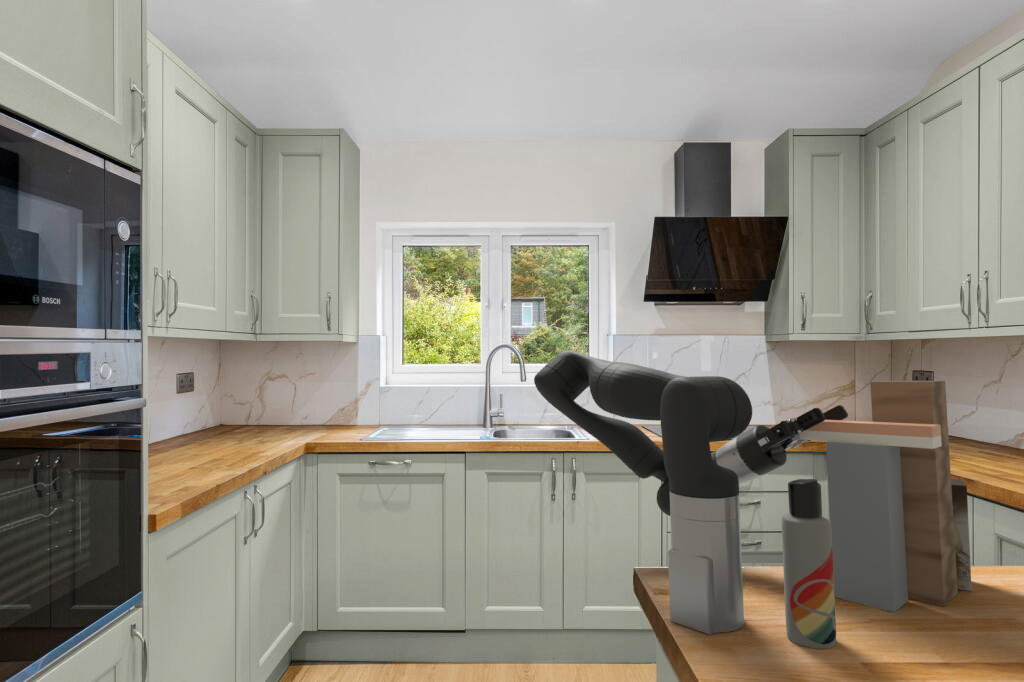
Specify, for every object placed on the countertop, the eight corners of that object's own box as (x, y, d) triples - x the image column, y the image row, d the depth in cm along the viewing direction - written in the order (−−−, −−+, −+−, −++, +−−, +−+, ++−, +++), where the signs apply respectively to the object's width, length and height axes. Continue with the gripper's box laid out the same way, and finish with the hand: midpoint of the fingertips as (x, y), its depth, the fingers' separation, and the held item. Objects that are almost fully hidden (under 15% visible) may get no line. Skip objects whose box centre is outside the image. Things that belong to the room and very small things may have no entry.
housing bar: (933, 448, 80) (931, 426, 80) (792, 438, 94) (791, 420, 95) (941, 446, 82) (940, 424, 83) (803, 436, 97) (802, 418, 97)
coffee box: (901, 581, 94) (895, 480, 95) (900, 570, 99) (895, 474, 100) (973, 592, 89) (967, 484, 90) (968, 579, 94) (962, 478, 95)
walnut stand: (944, 606, 84) (931, 381, 86) (881, 591, 90) (870, 381, 92) (957, 594, 88) (945, 380, 90) (896, 580, 94) (886, 381, 96)
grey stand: (893, 612, 82) (885, 446, 83) (833, 596, 88) (825, 441, 90) (908, 601, 86) (899, 442, 87) (849, 586, 92) (841, 438, 93)
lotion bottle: (835, 654, 70) (827, 484, 71) (783, 643, 73) (776, 480, 74) (838, 635, 75) (830, 477, 76) (789, 626, 78) (782, 474, 79)
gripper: (717, 439, 99) (800, 391, 89) (759, 433, 108) (838, 389, 98) (739, 481, 96) (828, 436, 85) (780, 471, 105) (865, 430, 95)
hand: (833, 411), depth 92 cm, fingers open, 8 cm apart
